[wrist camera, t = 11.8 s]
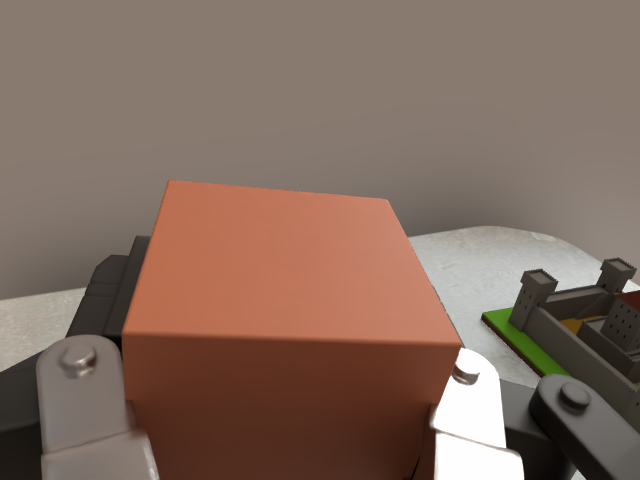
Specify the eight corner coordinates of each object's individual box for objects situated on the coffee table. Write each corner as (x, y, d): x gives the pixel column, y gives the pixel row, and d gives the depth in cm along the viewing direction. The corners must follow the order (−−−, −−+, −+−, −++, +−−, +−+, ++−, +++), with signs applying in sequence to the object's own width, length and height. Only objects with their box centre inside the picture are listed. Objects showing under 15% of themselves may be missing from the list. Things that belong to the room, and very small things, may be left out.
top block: (354, 627, 12) (464, 344, 8) (135, 642, 11) (120, 332, 7) (326, 448, 17) (388, 198, 12) (165, 448, 16) (167, 178, 11)
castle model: (480, 318, 43) (508, 242, 40) (603, 295, 49) (637, 227, 46) (633, 468, 32) (693, 380, 28) (770, 414, 38) (833, 336, 34)
